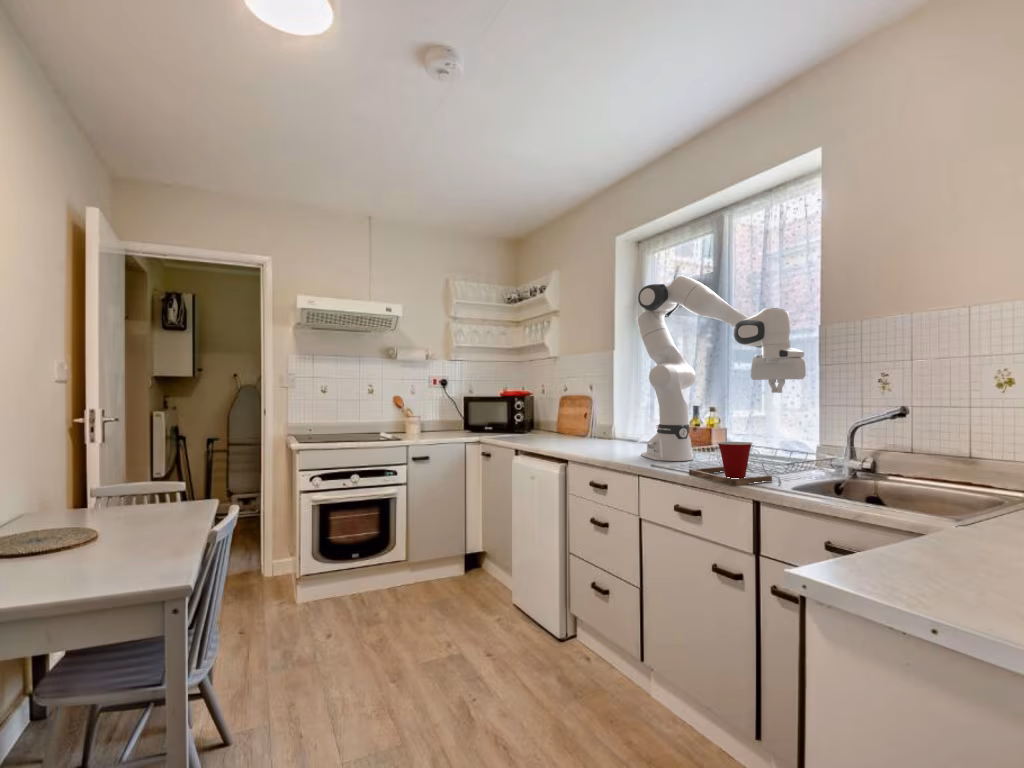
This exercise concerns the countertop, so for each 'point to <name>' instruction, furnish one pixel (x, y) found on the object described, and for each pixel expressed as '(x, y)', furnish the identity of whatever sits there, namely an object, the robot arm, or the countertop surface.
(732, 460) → the plastic cup
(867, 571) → the countertop surface
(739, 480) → the tray
